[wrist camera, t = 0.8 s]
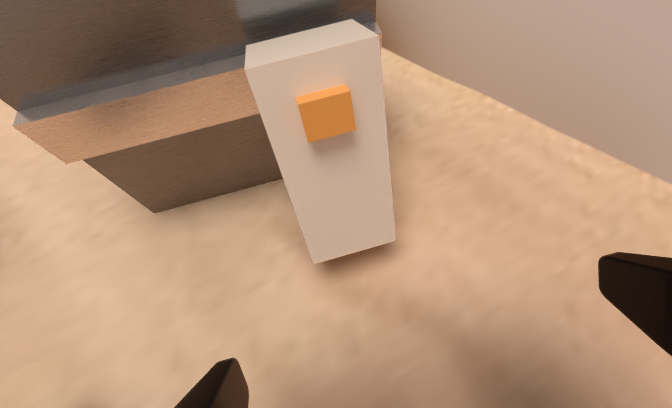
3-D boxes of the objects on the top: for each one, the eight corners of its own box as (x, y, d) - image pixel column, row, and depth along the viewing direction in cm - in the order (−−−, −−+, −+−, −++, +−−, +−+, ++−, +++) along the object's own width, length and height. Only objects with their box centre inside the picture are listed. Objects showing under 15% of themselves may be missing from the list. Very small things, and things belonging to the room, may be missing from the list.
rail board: (376, 163, 25) (387, -102, 11) (153, 224, 24) (-140, 21, 10) (354, 110, 28) (342, -153, 14) (154, 163, 27) (-74, -61, 13)
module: (401, 250, 18) (386, 39, 11) (315, 275, 18) (243, 76, 11) (375, 200, 22) (351, 18, 14) (304, 219, 21) (245, 45, 14)
